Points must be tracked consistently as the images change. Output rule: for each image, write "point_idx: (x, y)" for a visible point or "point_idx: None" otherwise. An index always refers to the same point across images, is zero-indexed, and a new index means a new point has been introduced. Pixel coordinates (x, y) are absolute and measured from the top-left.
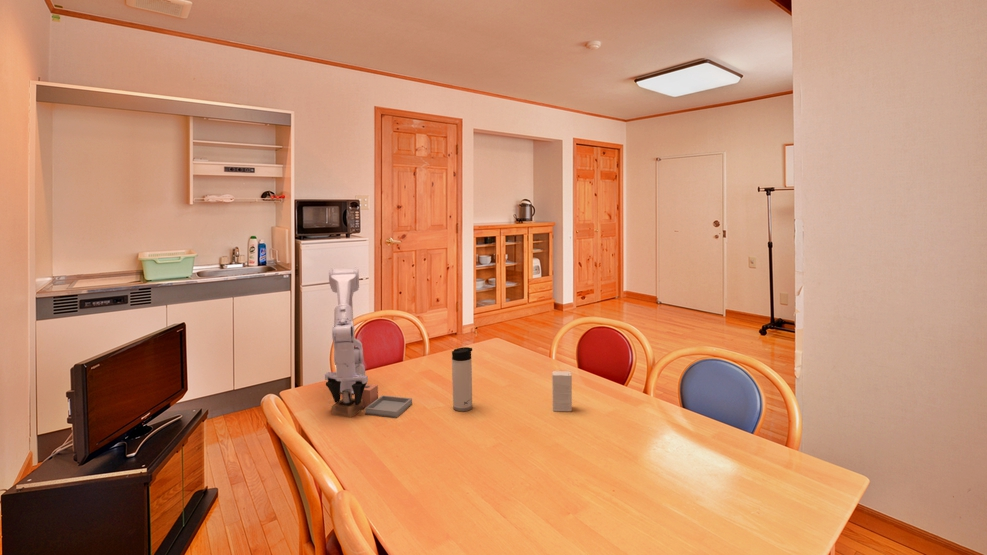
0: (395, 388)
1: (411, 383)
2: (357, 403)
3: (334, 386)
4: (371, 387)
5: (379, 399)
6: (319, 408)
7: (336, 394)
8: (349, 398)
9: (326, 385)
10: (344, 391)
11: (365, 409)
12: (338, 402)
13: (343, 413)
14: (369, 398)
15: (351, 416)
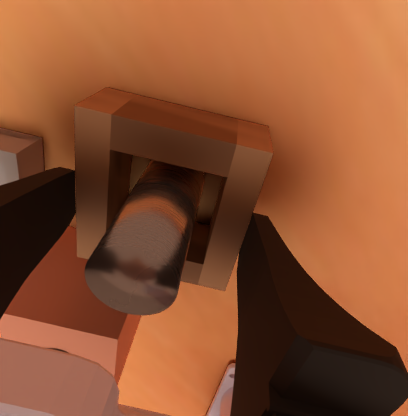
0: None
1: None
2: (49, 172)
3: (266, 332)
4: None
5: None
6: (390, 226)
7: (253, 268)
8: (116, 215)
9: (385, 343)
10: (146, 269)
11: (16, 148)
12: (236, 216)
13: (168, 109)
14: (40, 265)
15: (105, 88)
